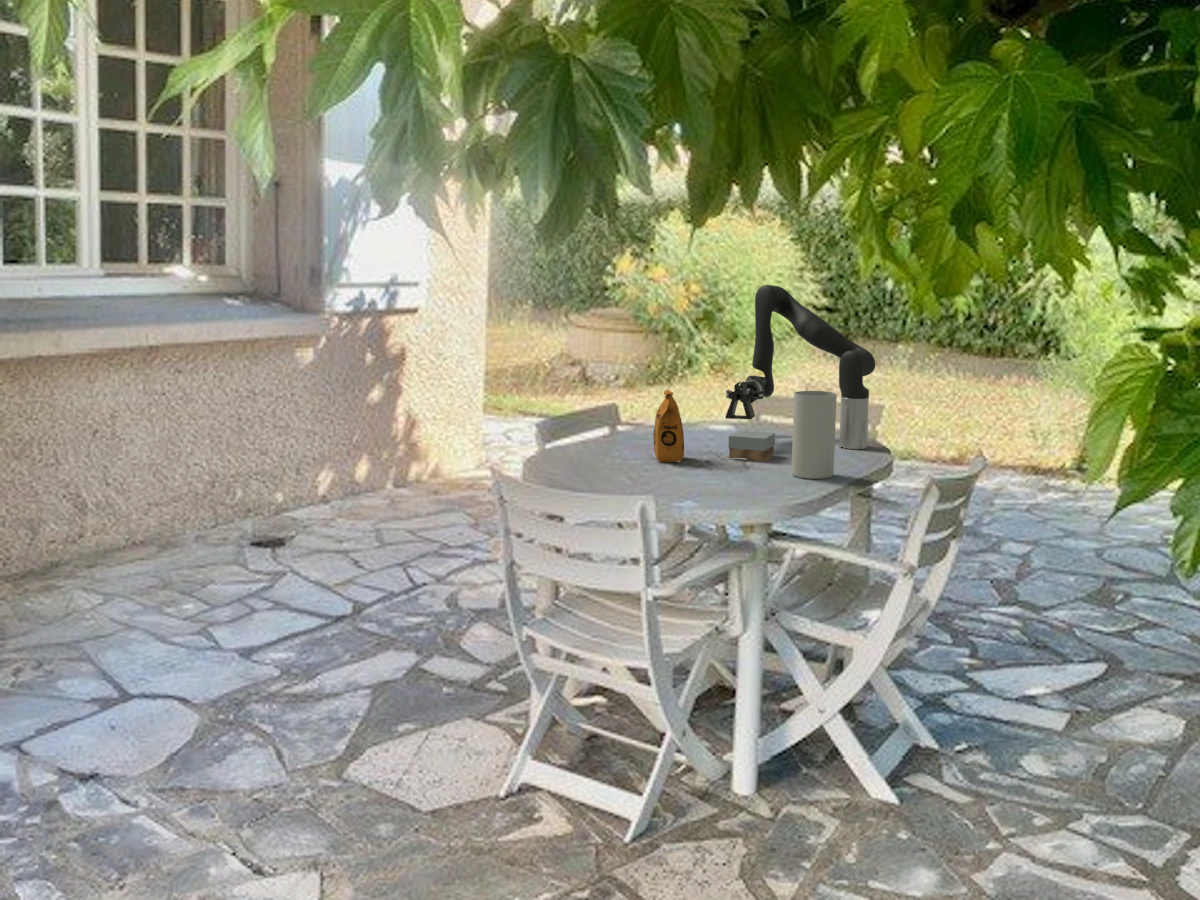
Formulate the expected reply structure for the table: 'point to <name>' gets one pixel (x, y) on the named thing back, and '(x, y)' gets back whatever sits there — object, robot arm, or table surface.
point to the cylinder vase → (813, 434)
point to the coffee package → (668, 431)
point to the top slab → (752, 440)
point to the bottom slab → (752, 454)
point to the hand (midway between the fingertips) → (739, 397)
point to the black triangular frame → (746, 403)
